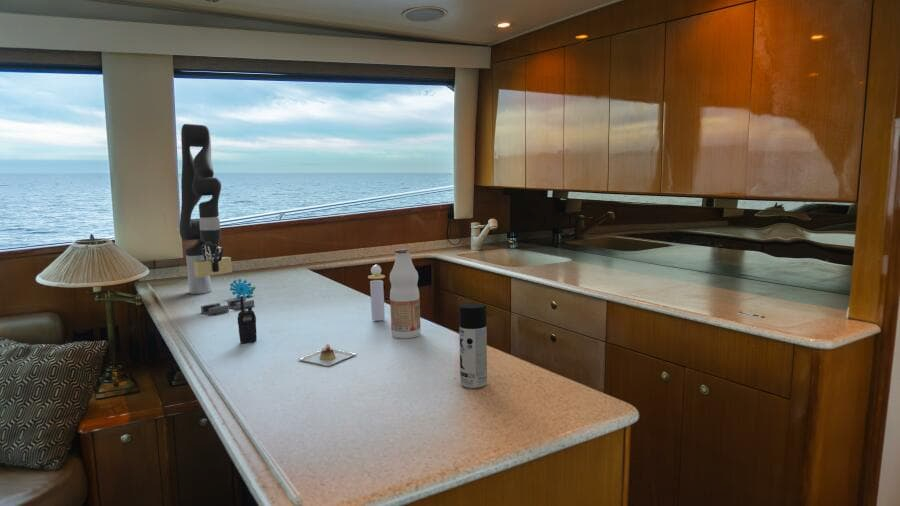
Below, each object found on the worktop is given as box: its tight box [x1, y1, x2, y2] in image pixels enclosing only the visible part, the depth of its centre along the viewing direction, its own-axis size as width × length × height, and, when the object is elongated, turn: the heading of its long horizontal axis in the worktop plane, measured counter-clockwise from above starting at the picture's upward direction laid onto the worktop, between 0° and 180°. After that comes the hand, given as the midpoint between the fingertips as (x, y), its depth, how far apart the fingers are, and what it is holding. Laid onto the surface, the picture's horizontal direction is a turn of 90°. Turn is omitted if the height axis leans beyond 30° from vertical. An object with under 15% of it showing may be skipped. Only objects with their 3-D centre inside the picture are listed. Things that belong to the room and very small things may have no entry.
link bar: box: [194, 256, 233, 277], centre depth 239 cm, size 3×14×6 cm, turn 139°
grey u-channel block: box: [200, 297, 255, 316], centre depth 235 cm, size 8×18×2 cm, turn 139°
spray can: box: [458, 302, 488, 390], centre depth 147 cm, size 7×7×20 cm
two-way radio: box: [237, 295, 257, 344], centre depth 189 cm, size 6×4×15 cm
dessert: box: [297, 343, 358, 367], centre depth 171 cm, size 12×12×5 cm
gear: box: [229, 278, 257, 299], centre depth 259 cm, size 11×6×10 cm
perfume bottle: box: [367, 264, 386, 321], centre depth 210 cm, size 6×6×20 cm
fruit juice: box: [389, 247, 422, 340], centre depth 191 cm, size 9×9×28 cm
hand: (213, 271), depth 239 cm, fingers closed on link bar, 3 cm apart
